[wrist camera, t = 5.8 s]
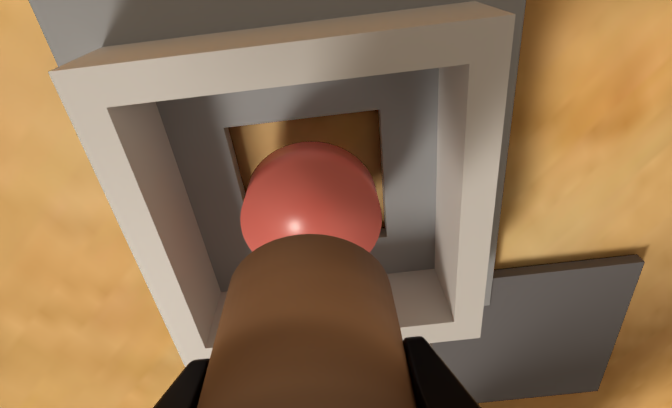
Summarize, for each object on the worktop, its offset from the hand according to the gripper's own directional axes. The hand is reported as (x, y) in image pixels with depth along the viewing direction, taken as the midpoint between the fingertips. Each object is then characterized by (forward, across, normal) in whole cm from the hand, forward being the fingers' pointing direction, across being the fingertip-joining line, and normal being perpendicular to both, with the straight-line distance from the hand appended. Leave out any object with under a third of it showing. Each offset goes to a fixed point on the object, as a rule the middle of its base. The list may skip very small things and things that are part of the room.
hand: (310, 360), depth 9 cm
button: (+6, 0, 0) cm, 6 cm away
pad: (+8, -9, +10) cm, 16 cm away
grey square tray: (+8, 0, 0) cm, 8 cm away
